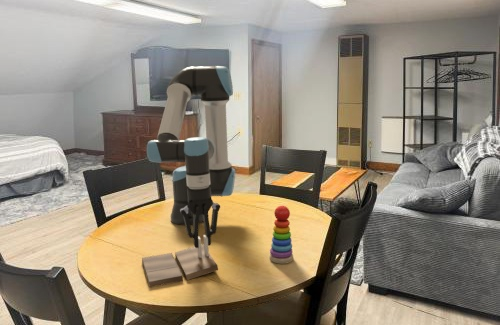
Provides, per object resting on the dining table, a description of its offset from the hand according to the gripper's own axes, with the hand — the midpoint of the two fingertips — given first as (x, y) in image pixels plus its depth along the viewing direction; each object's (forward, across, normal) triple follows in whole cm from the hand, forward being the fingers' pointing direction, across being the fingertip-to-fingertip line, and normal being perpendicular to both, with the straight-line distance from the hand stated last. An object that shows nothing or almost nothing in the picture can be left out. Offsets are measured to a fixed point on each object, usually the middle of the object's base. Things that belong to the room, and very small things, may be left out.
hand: (203, 255), depth 138 cm
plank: (+2, -3, 0) cm, 4 cm away
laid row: (+3, -14, 0) cm, 14 cm away
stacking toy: (+4, +25, -7) cm, 26 cm away
